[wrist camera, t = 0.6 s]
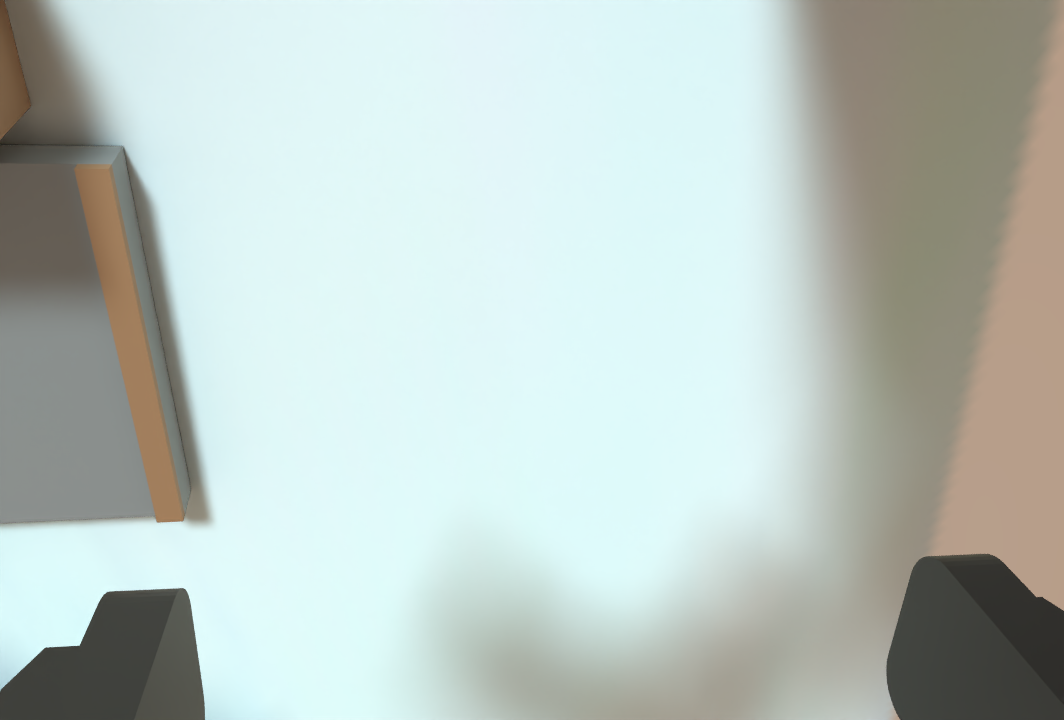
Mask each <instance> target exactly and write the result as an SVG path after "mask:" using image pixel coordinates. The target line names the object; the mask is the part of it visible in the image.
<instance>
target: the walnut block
mask: <svg viewBox="0 0 1064 720" xmlns="http://www.w3.org/2000/svg"><path fill="white" fill-rule="evenodd" d="M30 107H31V103H30V99H29V95H28V91H27V88H26V84H25V80H24V76H23V72H22V68H21V64H20V60H19V56H18V52H17V48H16V44H15V40H14V36H13V32H12V28H11V24H10V20H9V16H8V12H7V8H6V4H5V0H0V140H1V139H2V137H3V136H4V135H5V134H6V133H7V132H8V131H9V130H10V129H11V128H12V127H13V125H14V124H15V123H16V122H17V121H18V120H19V119H20V118H21V117H22V116H23V115H24V113H25V112H26V111H27V110H28V109H29V108H30Z"/></svg>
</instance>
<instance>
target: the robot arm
mask: <svg viewBox="0 0 1064 720" xmlns="http://www.w3.org/2000/svg"><path fill="white" fill-rule="evenodd" d="M887 684H888V689H889V693H890V697H891V700H892V703H893V706H894V708H895V711H896V713H897V715H898V716H899V718H900V720H1064V611H1063V610H1061V609H1060V608H1058V607H1057V606H1055V605H1053V604H1052V603H1050V602H1049V601H1047V600H1046V599H1044V598H1043V597H1035V596H1034V594H1033V593H1032V592H1031V591H1030V590H1029V589H1028V588H1027V587H1026V586H1025V585H1024V584H1023V583H1022V582H1021V581H1020V580H1019V579H1018V578H1017V577H1016V576H1015V574H1014V573H1013V572H1012V571H1011V570H1010V569H1009V568H1008V567H1007V566H1006V565H1005V564H1004V563H1003V562H1002V561H1001V560H1000V559H998V558H997V557H995V556H993V555H990V554H973V555H972V554H971V555H950V556H928V557H923V558H922V559H920V560H919V561H918V562H917V563H916V564H915V566H914V568H913V570H912V573H911V576H910V580H909V583H908V587H907V591H906V594H905V598H904V601H903V605H902V608H901V612H900V616H899V619H898V623H897V626H896V630H895V633H894V637H893V640H892V644H891V648H890V651H889V655H888V659H887ZM0 720H205V706H204V695H203V687H202V680H201V673H200V666H199V659H198V652H197V645H196V638H195V631H194V624H193V617H192V610H191V604H190V599H189V596H188V593H187V591H186V590H185V589H183V588H178V589H156V590H134V591H112V592H107V593H106V594H104V595H103V597H102V598H101V600H100V602H99V604H98V606H97V608H96V610H95V613H94V615H93V617H92V619H91V621H90V624H89V626H88V628H87V630H86V633H85V635H84V637H83V639H82V642H81V644H80V646H68V647H49V648H44V649H43V650H42V651H41V652H40V653H39V654H38V655H37V656H36V657H35V658H34V659H33V660H32V661H31V662H30V663H29V664H28V665H26V666H25V667H24V668H23V669H22V670H21V671H20V672H19V673H18V674H17V675H16V676H15V677H14V678H13V679H12V680H11V681H10V682H9V683H7V684H6V685H5V686H4V687H3V688H2V689H1V691H0Z"/></svg>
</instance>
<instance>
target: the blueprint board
mask: <svg viewBox="0 0 1064 720" xmlns="http://www.w3.org/2000/svg"><path fill="white" fill-rule="evenodd" d="M190 492H191V486H190V481H189V476H188V471H187V466H186V461H185V456H184V451H183V446H182V441H181V436H180V431H179V426H178V421H177V416H176V411H175V406H174V401H173V396H172V391H171V386H170V381H169V376H168V371H167V366H166V361H165V356H164V350H163V345H162V340H161V335H160V330H159V325H158V320H157V315H156V310H155V305H154V300H153V295H152V290H151V285H150V280H149V275H148V270H147V265H146V260H145V255H144V250H143V245H142V240H141V235H140V230H139V225H138V220H137V215H136V210H135V205H134V200H133V195H132V190H131V185H130V180H129V175H128V170H127V165H126V160H125V155H124V150H123V146H74V145H0V523H16V522H38V521H59V520H80V519H102V518H123V517H145V516H156V520H157V522H178V521H183V520H184V516H185V512H186V508H187V504H188V500H189V496H190Z"/></svg>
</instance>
